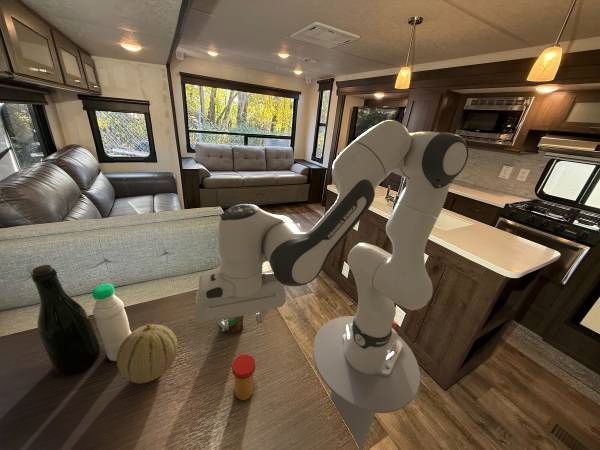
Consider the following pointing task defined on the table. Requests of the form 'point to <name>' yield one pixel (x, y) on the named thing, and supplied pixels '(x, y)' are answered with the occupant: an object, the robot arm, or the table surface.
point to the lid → (243, 366)
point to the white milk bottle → (110, 319)
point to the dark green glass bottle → (63, 325)
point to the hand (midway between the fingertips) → (242, 324)
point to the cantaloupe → (147, 353)
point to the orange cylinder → (244, 388)
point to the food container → (235, 323)
